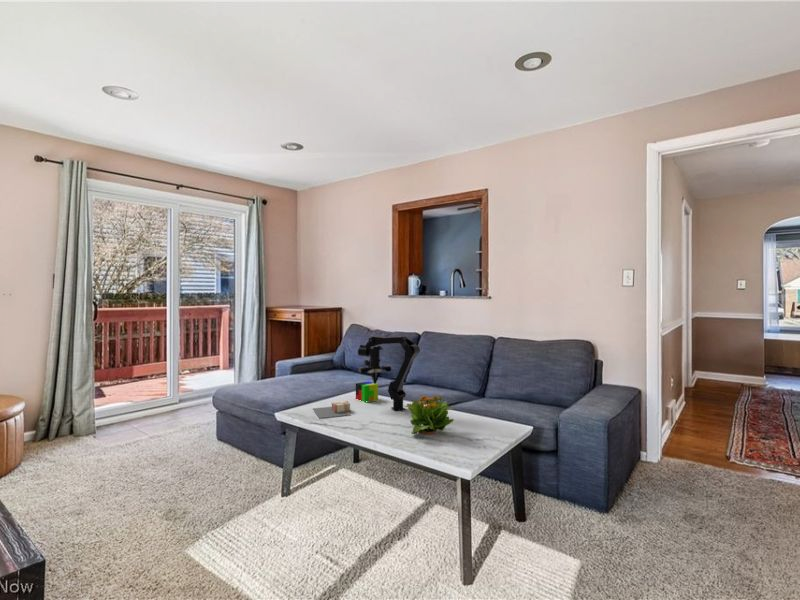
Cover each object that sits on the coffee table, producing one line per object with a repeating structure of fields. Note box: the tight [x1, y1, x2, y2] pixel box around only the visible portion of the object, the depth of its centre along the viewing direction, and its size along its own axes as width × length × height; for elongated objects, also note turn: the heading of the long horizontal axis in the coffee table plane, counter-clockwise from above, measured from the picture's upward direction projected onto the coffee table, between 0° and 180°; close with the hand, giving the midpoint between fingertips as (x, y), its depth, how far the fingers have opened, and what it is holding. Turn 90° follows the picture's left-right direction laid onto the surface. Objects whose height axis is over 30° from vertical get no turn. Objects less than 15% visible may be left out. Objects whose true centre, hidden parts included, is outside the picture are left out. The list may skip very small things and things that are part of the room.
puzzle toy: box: [355, 381, 379, 403], centre depth 262 cm, size 10×10×10 cm
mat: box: [312, 406, 352, 419], centre depth 233 cm, size 20×17×1 cm
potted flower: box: [404, 394, 454, 436], centre depth 201 cm, size 25×24×18 cm
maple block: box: [331, 400, 351, 413], centre depth 235 cm, size 6×4×9 cm
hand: (374, 383), depth 247 cm, fingers closed
